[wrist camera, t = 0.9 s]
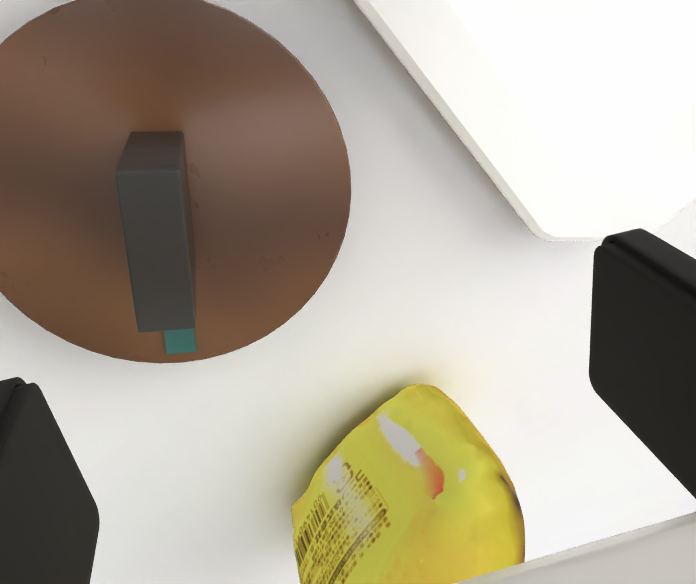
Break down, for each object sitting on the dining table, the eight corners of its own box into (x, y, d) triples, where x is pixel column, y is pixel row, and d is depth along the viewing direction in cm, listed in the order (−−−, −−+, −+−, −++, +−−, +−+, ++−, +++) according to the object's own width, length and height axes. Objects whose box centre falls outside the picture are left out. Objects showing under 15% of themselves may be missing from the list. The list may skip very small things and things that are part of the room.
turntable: (-96, -15, 19) (-200, -8, 14) (351, -7, 22) (397, 1, 17) (6, 368, 26) (-41, 467, 21) (343, 338, 28) (375, 418, 23)
